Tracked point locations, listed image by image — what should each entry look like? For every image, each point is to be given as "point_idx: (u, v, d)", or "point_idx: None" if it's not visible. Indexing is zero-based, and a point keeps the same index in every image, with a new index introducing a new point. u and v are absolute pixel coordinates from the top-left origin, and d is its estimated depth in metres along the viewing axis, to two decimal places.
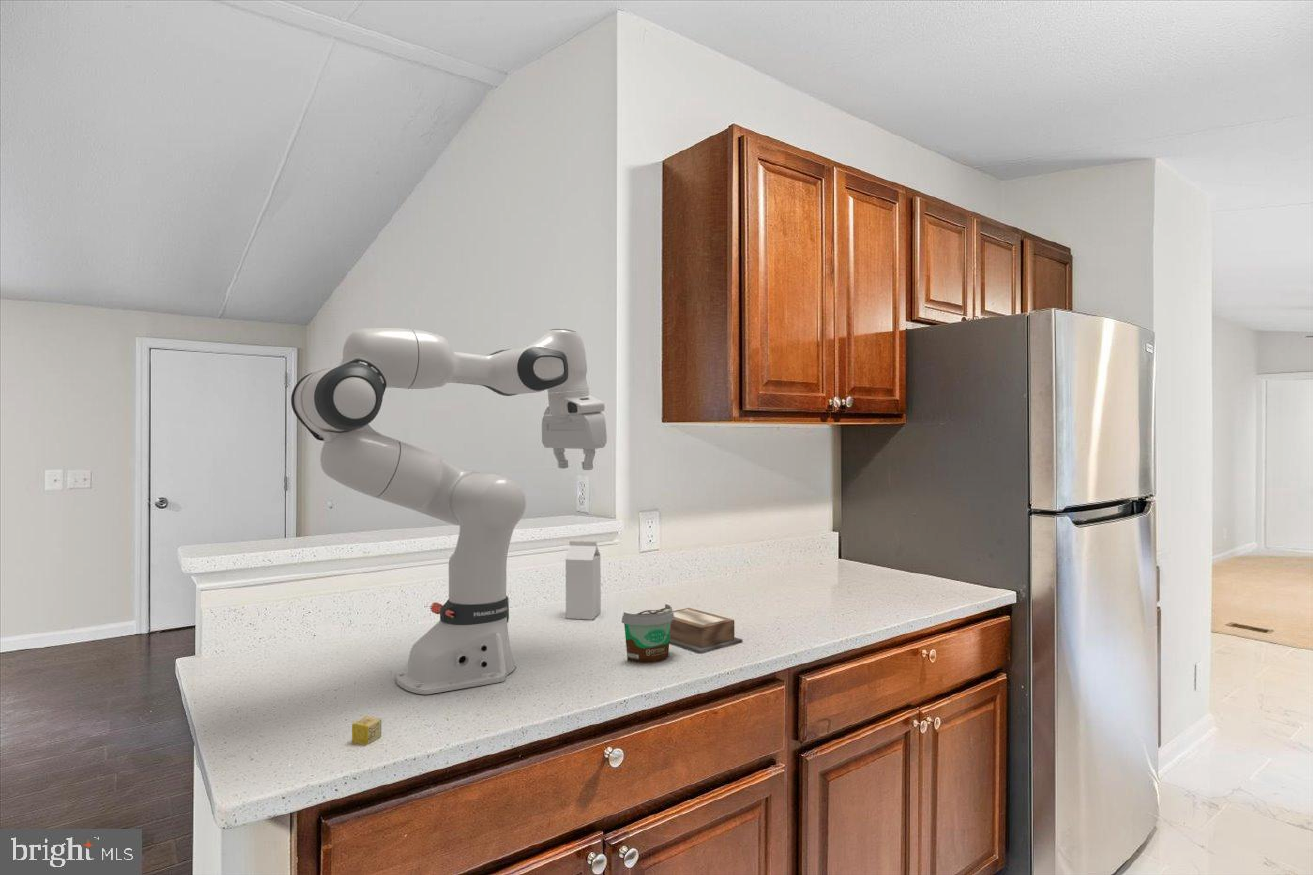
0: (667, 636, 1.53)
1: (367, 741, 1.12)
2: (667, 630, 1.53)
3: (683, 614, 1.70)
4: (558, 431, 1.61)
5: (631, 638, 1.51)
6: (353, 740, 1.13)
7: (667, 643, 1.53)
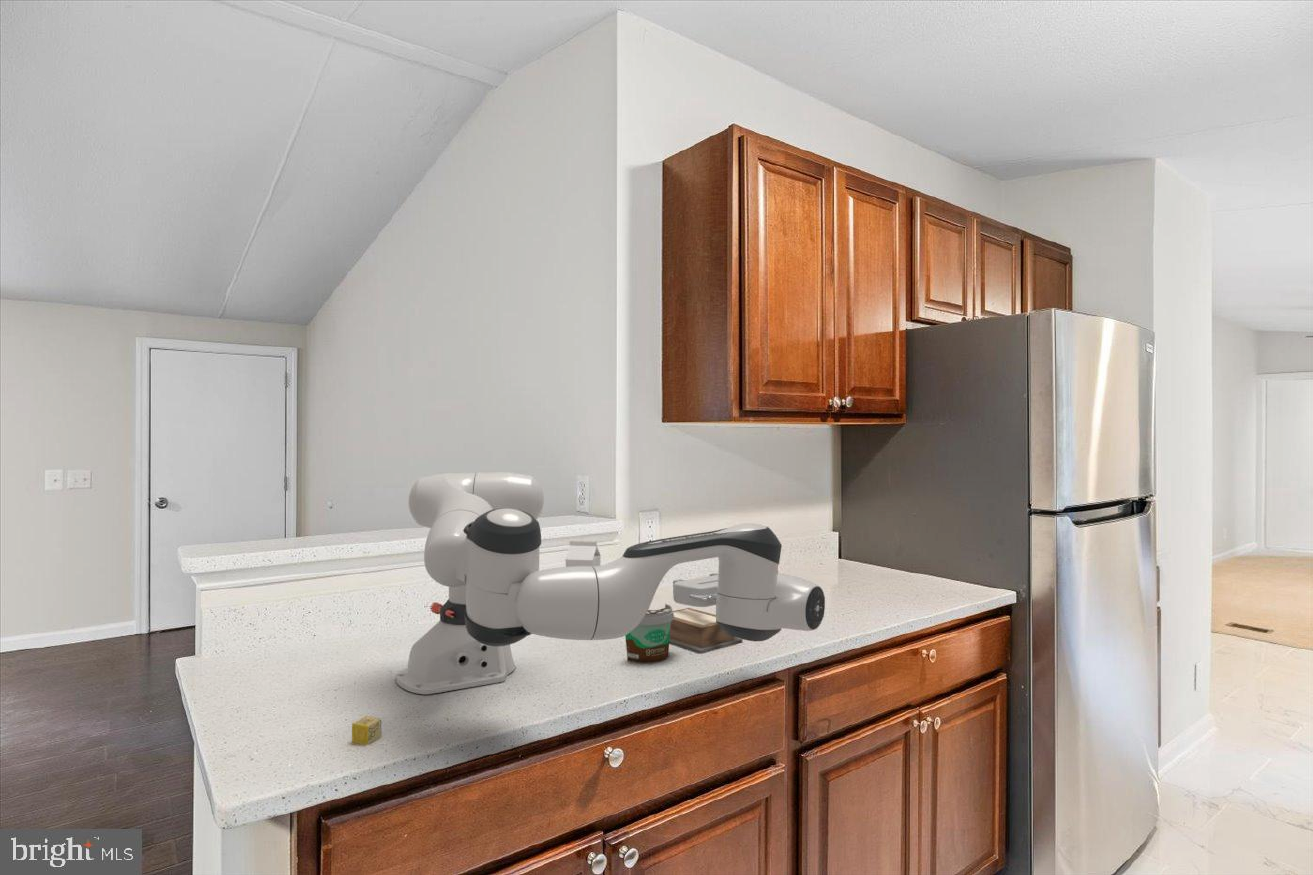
0: (667, 636, 1.53)
1: (367, 741, 1.12)
2: (667, 630, 1.53)
3: (683, 614, 1.70)
4: None
5: (631, 638, 1.51)
6: (353, 740, 1.13)
7: (667, 643, 1.53)
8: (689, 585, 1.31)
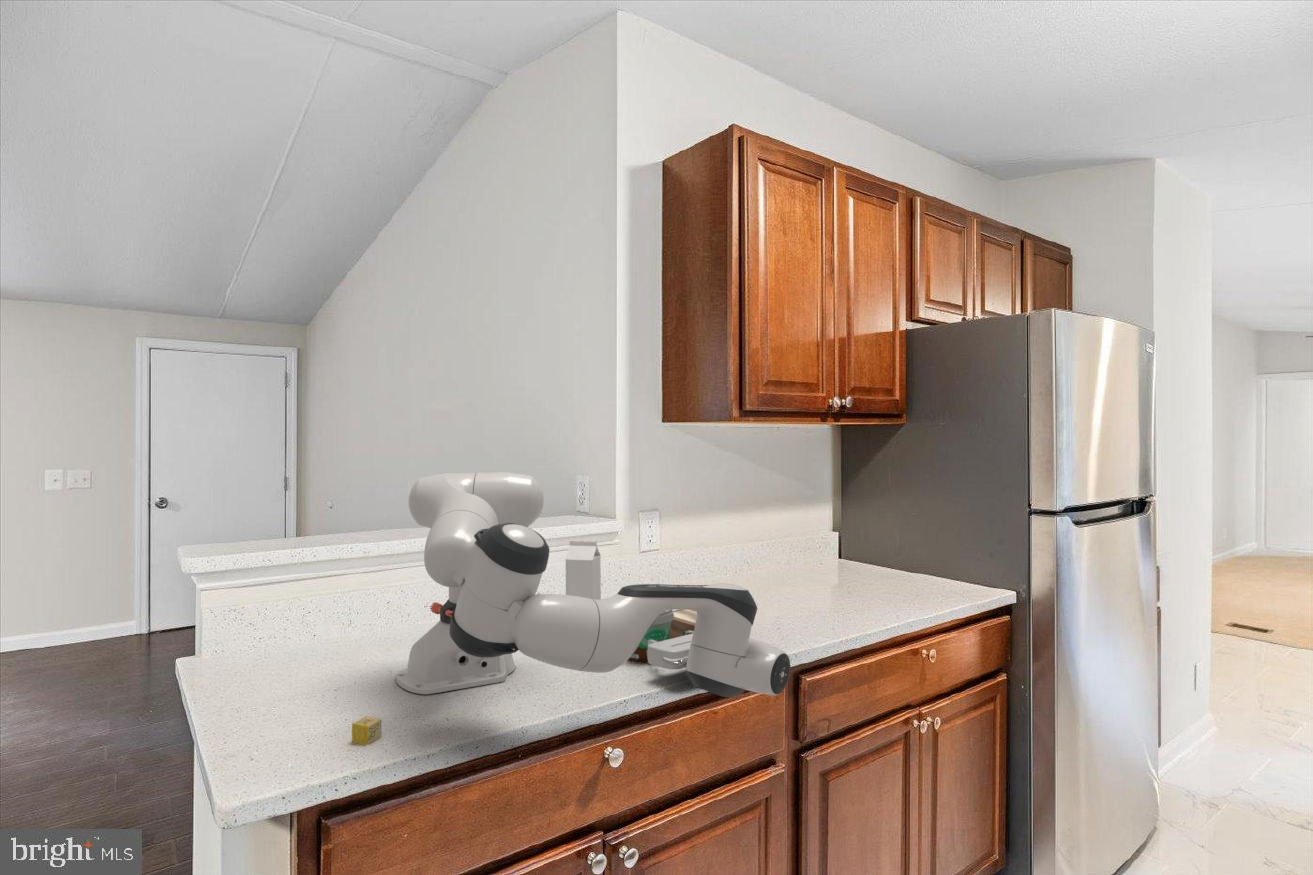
0: (667, 636, 1.53)
1: (367, 741, 1.12)
2: (667, 630, 1.53)
3: (683, 614, 1.70)
4: None
5: None
6: (353, 740, 1.13)
7: None
8: (662, 648, 1.37)
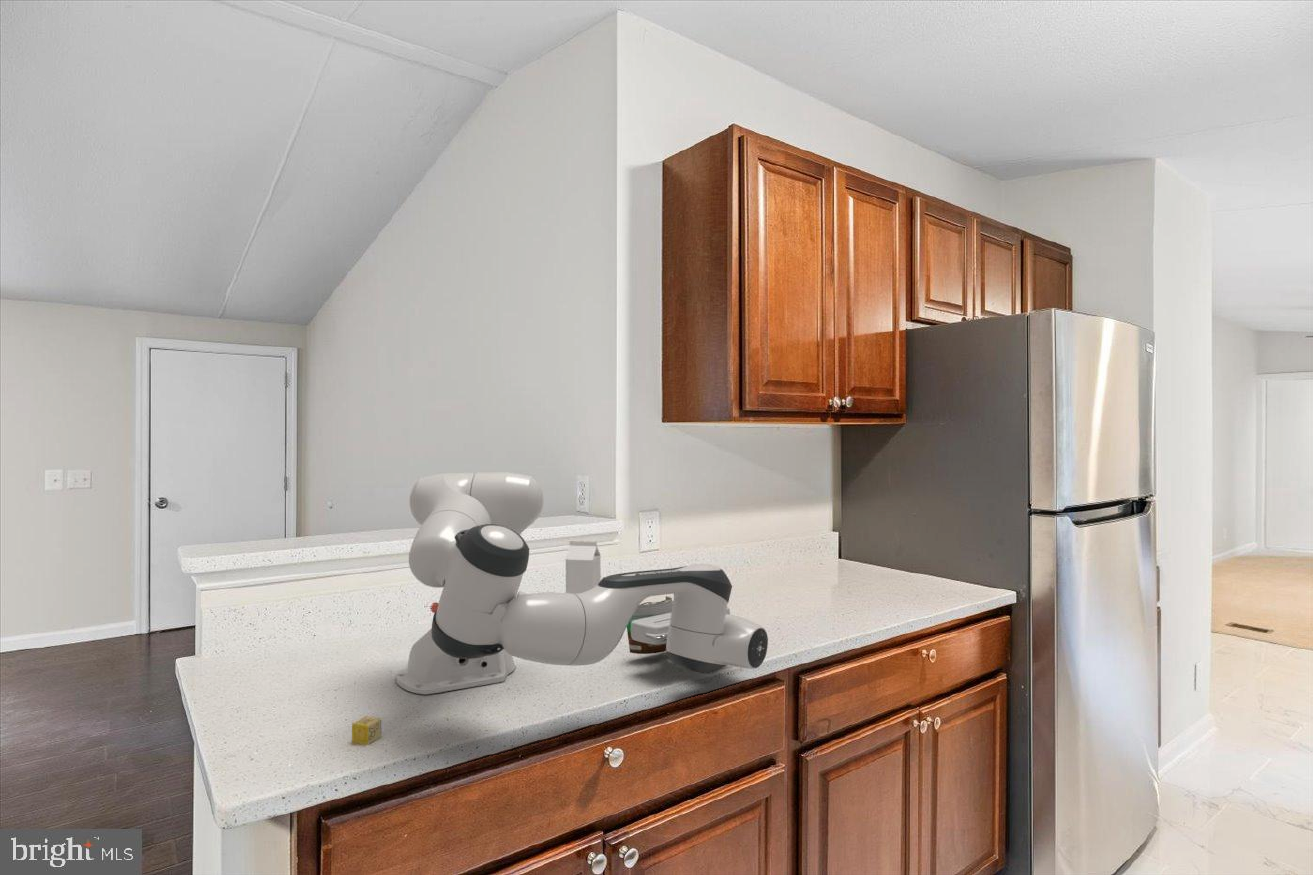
0: None
1: (367, 741, 1.12)
2: None
3: None
4: None
5: None
6: (353, 740, 1.13)
7: None
8: (645, 624, 1.41)
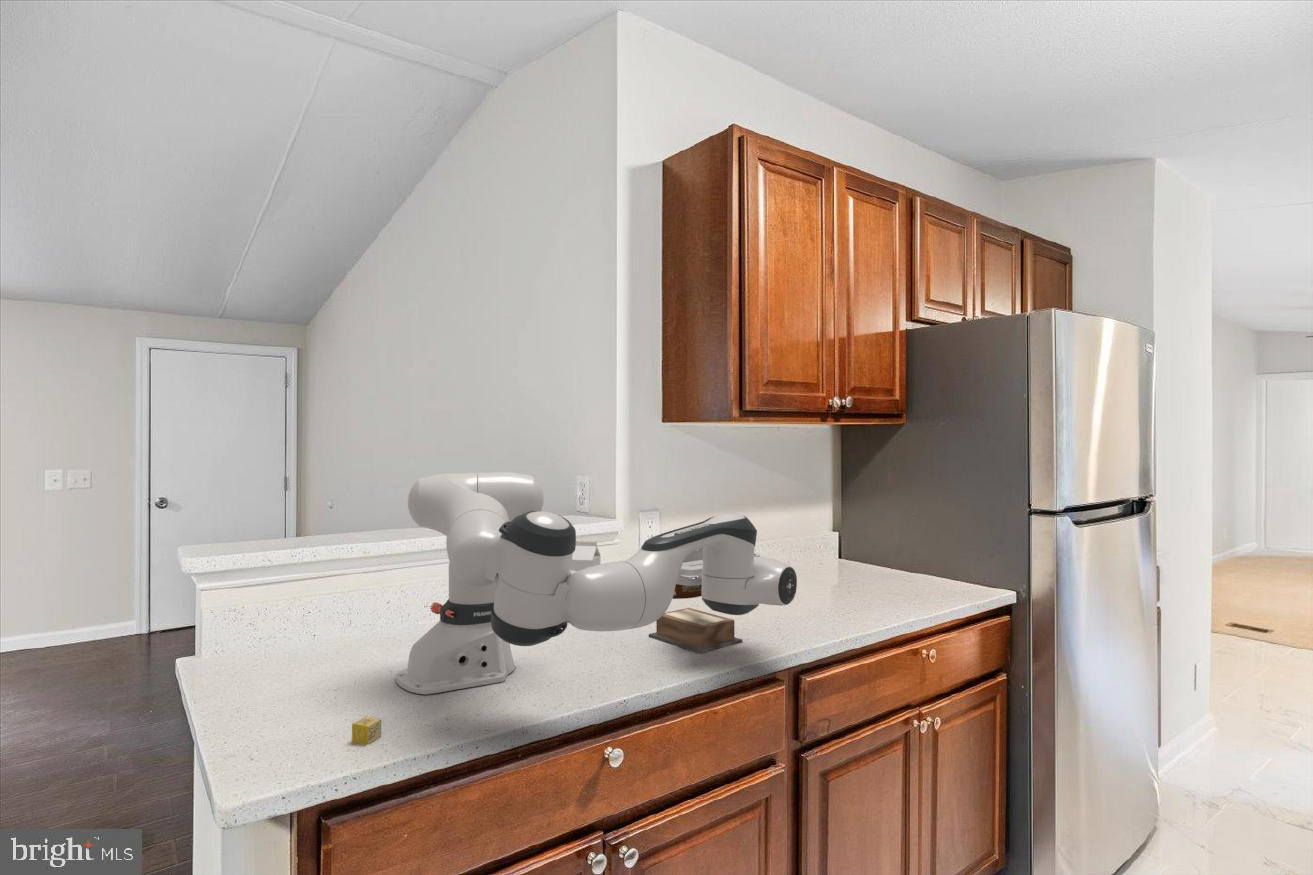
0: None
1: (367, 741, 1.12)
2: None
3: (683, 614, 1.70)
4: None
5: None
6: (353, 740, 1.13)
7: None
8: None
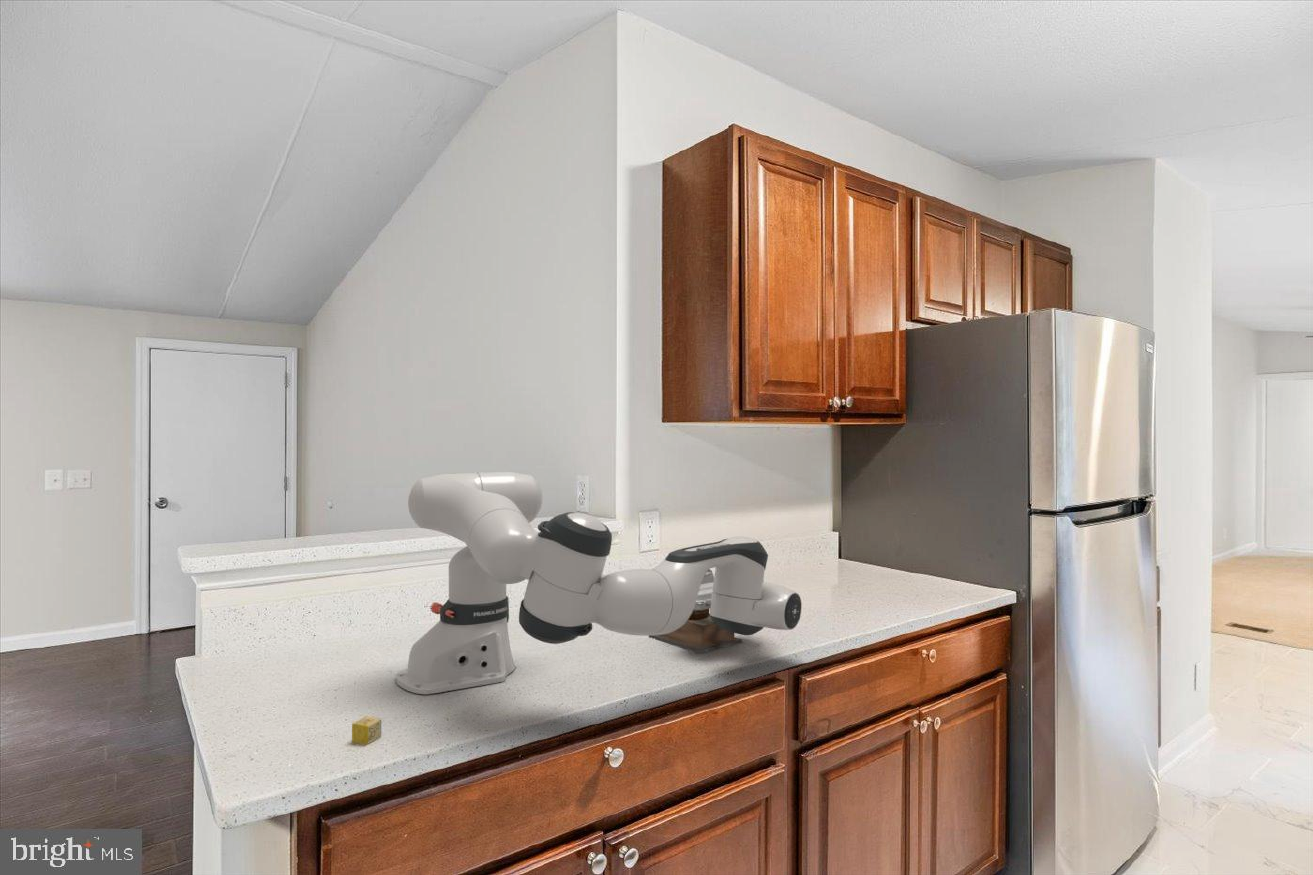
0: None
1: (367, 741, 1.12)
2: None
3: None
4: None
5: None
6: (353, 740, 1.13)
7: None
8: None
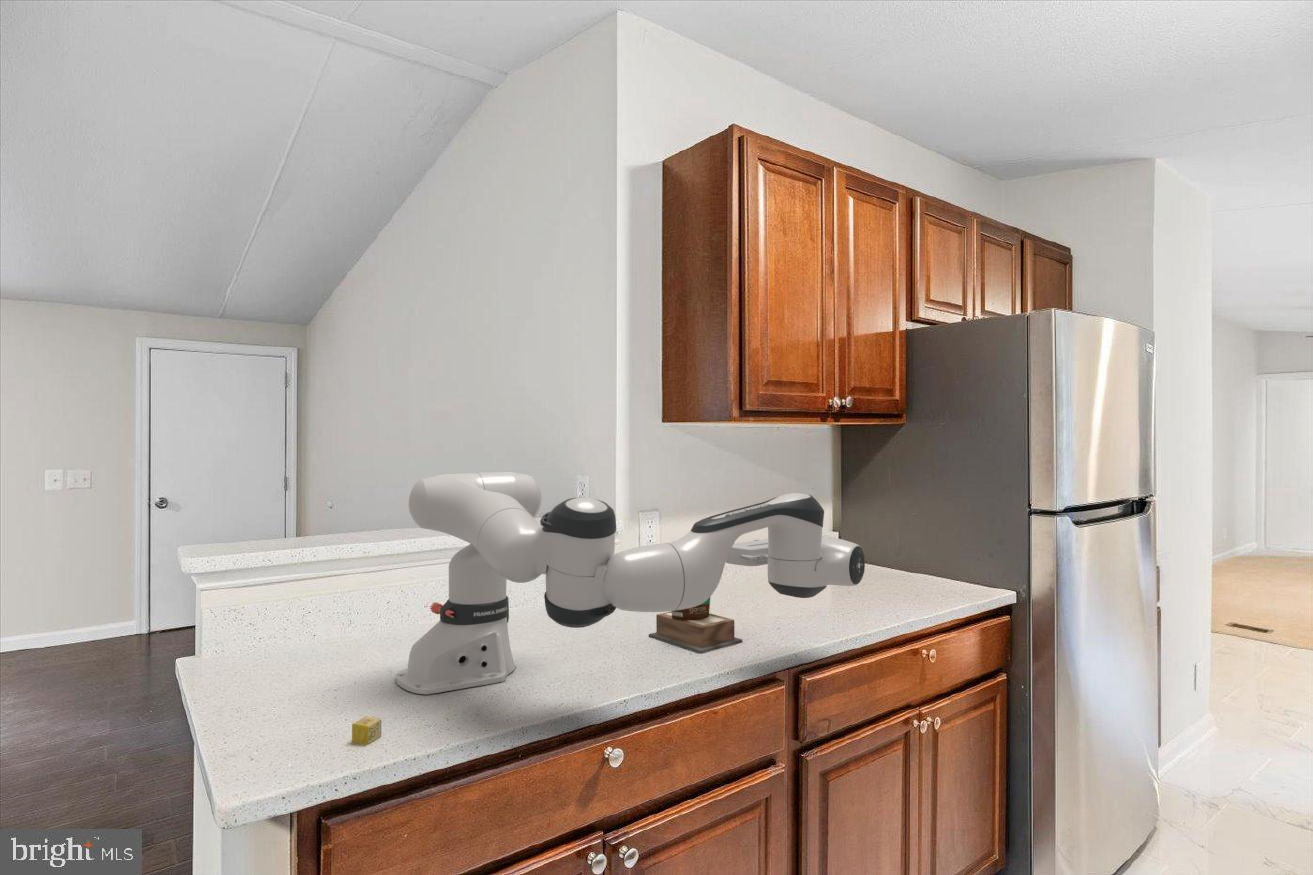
0: None
1: (367, 741, 1.12)
2: None
3: None
4: None
5: None
6: (353, 740, 1.13)
7: (708, 603, 1.67)
8: (739, 547, 1.44)
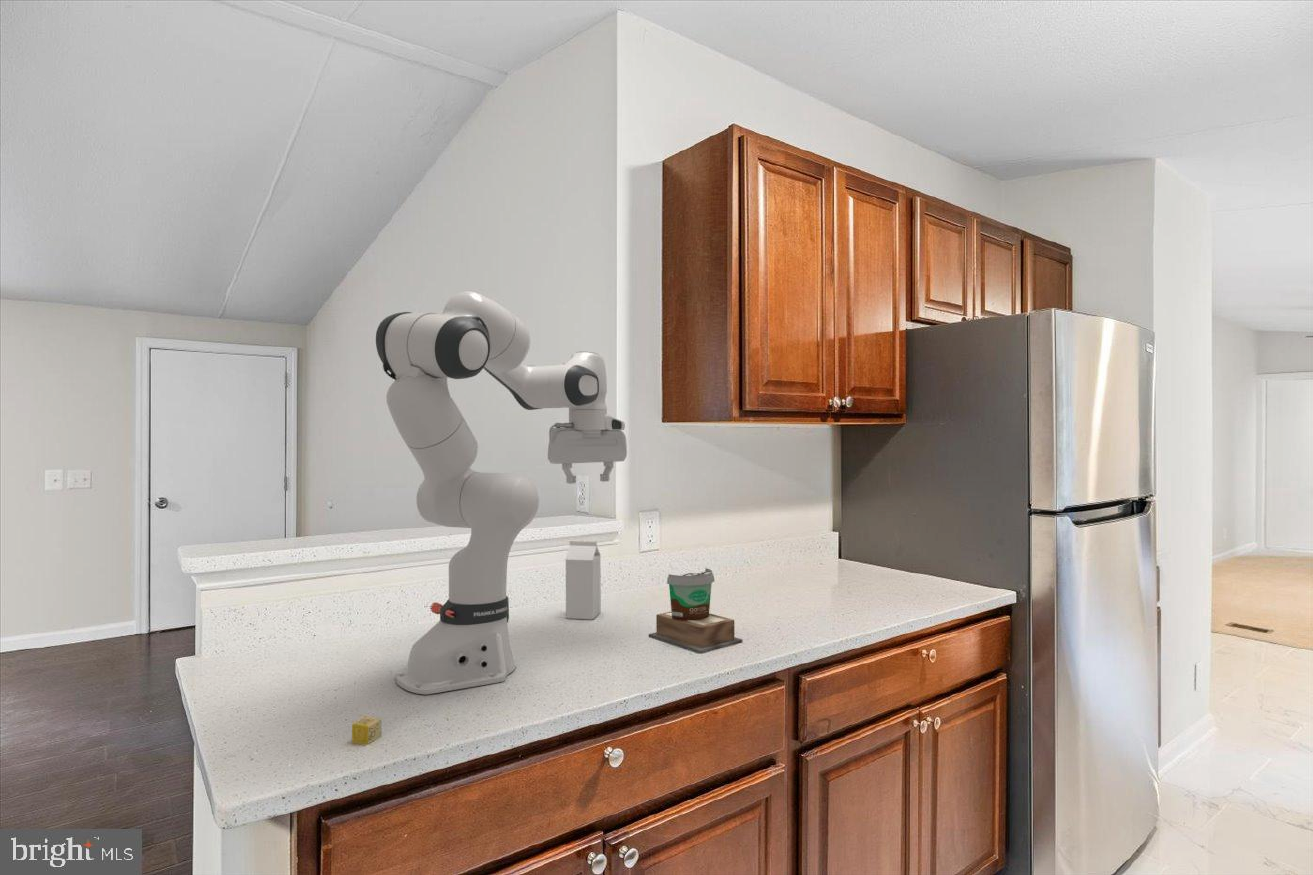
0: (708, 596, 1.67)
1: (367, 741, 1.12)
2: (708, 591, 1.66)
3: None
4: (583, 446, 1.70)
5: (675, 598, 1.65)
6: (353, 740, 1.13)
7: (708, 603, 1.67)
8: None
